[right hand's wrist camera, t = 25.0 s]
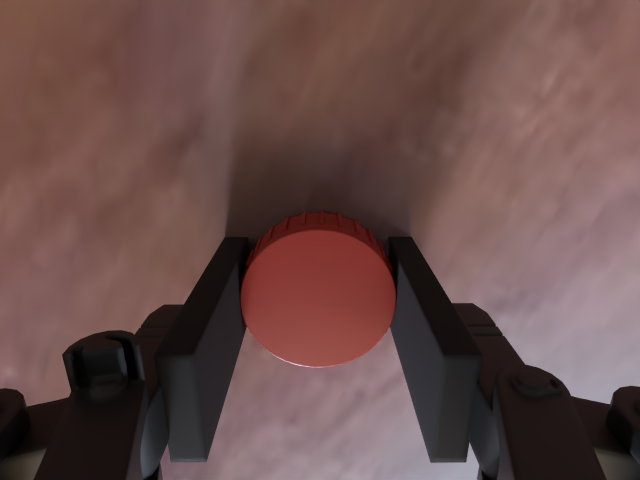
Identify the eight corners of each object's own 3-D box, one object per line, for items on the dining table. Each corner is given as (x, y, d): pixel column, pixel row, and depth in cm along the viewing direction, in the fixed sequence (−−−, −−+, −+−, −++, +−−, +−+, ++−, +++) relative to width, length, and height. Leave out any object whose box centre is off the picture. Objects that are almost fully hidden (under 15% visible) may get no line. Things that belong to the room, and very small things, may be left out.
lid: (224, 307, 15) (213, 335, 13) (282, 183, 13) (277, 197, 12) (348, 358, 16) (352, 390, 14) (417, 247, 14) (429, 269, 12)
